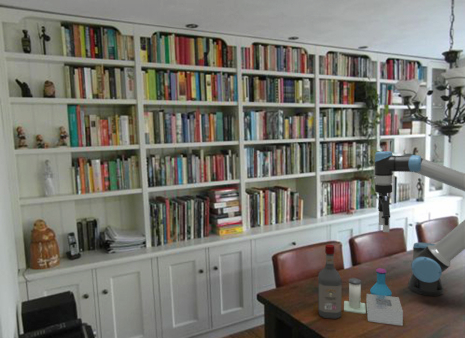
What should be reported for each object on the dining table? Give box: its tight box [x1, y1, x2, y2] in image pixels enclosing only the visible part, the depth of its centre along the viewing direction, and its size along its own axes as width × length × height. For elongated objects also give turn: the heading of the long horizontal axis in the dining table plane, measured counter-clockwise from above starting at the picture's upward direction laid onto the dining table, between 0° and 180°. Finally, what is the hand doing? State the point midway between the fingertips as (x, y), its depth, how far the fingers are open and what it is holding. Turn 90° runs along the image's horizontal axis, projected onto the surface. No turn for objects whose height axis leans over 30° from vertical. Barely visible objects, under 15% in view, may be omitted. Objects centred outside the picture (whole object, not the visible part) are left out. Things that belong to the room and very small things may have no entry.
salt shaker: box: [348, 277, 362, 309], centre depth 156 cm, size 5×5×12 cm
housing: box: [365, 293, 404, 327], centre depth 149 cm, size 13×13×6 cm
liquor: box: [317, 244, 342, 320], centre depth 150 cm, size 9×9×30 cm
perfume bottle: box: [369, 267, 393, 297], centre depth 162 cm, size 9×9×15 cm
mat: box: [343, 300, 367, 315], centre depth 156 cm, size 9×9×1 cm
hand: (383, 228), depth 168 cm, fingers open, 13 cm apart
